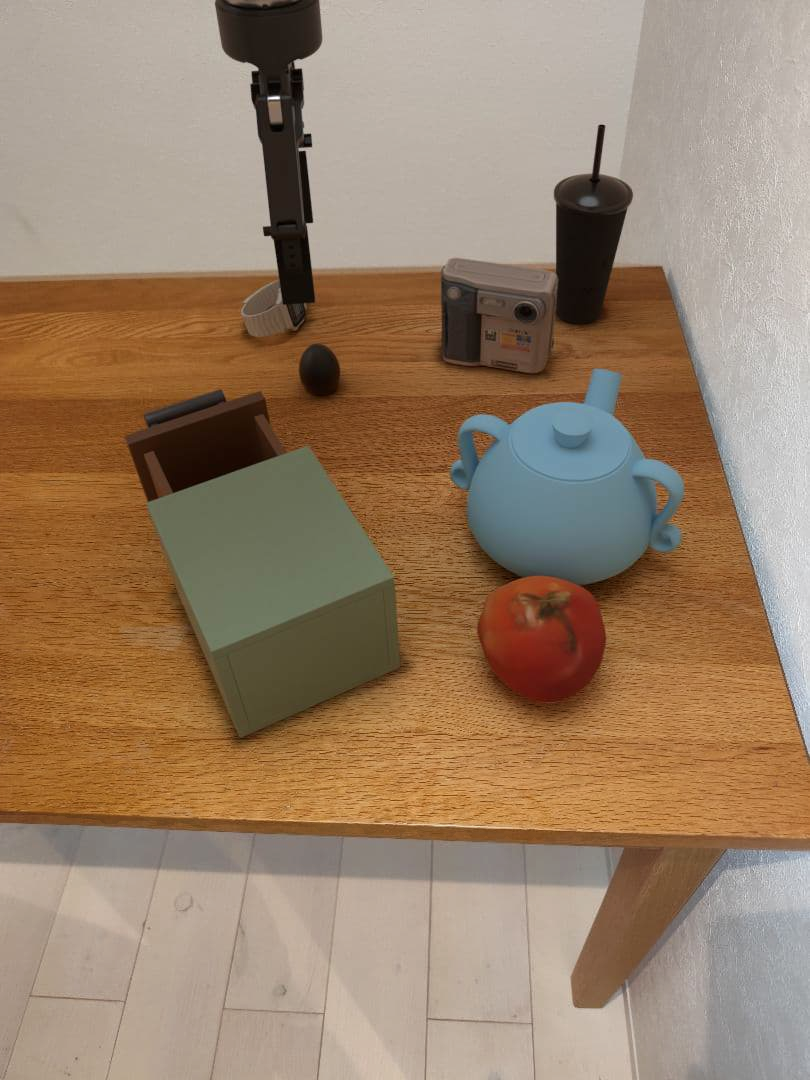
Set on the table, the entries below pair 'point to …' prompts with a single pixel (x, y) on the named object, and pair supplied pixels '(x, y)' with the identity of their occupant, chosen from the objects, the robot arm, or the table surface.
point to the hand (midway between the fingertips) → (298, 259)
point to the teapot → (566, 489)
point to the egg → (319, 369)
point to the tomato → (542, 637)
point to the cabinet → (279, 587)
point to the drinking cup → (587, 238)
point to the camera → (497, 315)
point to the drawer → (201, 441)
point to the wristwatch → (271, 312)
